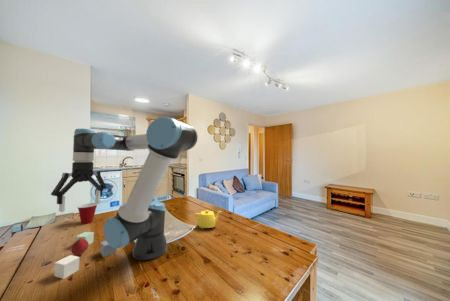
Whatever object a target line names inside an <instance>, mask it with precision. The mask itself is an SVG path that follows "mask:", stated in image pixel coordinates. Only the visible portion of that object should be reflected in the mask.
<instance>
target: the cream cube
mask: <svg viewBox="0 0 450 301" xmlns="http://www.w3.org/2000/svg"><path fill="white" fill-rule="evenodd" d="M80 258H81V257H80V256H78V255H74V254H73V255H72V254H70V255H67V256H65V257H63V258H61V259H59V260H57V261H55V262H54V268H53V269H54V270H53V276H54V277H56V278H60V279H62V280H63V279H66V278H68V277H69V276H71V275H72V274H74V273H76V272H77V271H79V270H80Z"/></svg>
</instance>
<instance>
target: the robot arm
mask: <svg viewBox="0 0 450 301" xmlns="http://www.w3.org/2000/svg"><path fill="white" fill-rule="evenodd" d="M198 136H199V135H198V132H197V130H196V129H195V128H194V127H193V126H192V125H190V124H189V123H186V122H183V121H181V120H178V119H176V118H173V117H170V116H169V117H168V116H161V117H157V118H155V119H154V120H152V121H151V123H149V125H148V126H147V129H146V132H145V133H141V134H132V135H118V134H112V133H111V132H105V131H99V132H96V131H95V130H94V129H91V128H81V127H80V128H76V129H75V130H74V134H73V143H72V144H73V147H72V151H73V152H72V161H73V162H72V167H71V173H70V172H63V173H62V175H61V178H60V180H59V181H58V183H57V184H56V186H55V187H54V189H53V190H52V191H51V193H50V195H51V196H53V197H56V204H57V205H59V209H58V211H59V212H61V213H64V212H65V209H66V205H65V204H66V196H65V195H66V193H67V192H68V191H69V190H70V189H71V188H72V187H73V186H74V185H75V184H77V183H82V182H89V183H90V184H91V185H92V186H93V187H94V188H96V190H95V200H94V201H95V202H94V203H95V204H97V205H99V204H101V197H103V191H104V189H107V185H106V183H105V181H104V179H103V178H102V175H101V171H100V170H95V171H94V161H95V150H110V151H112V150H113V151H124V152H125V151H127V152H129V151H132V152H133V151H135V150H138V151H139V150H148V152H149V153H148V155H147V157H146V159H145V161H144V164H143V165H142V168H141V169H140V172H139V174H138V176H137V179H136V181H135V183H134V185H133V187H132V189H131V192H130V193H129V196H128V198H127V200H126V202H125V203H124V204H121V205H120V206H119V207H118V209H117V212H116V214H115V216H112V217H110V218H108V219H107V220H106V221H105V222H104V223H103V228H102V229H103V232H102V233H103V235H104V239H105V241H107V242H108V244H109V245H110V246H112V247H114V248H116V249H121V248H122V247H125V246H128V245H129V244H131V243H133V242H134V241H135V244H134V246H133V248H132V257H133V259H135V260H138V261H151V260H155V259H157V258H159V257H161V256H163V255H164V254H165V253H166V252H167V250H168V242H167V243H166V241H167V237H166V235H165V220H166V219H165V217H166V204H165V203H164V202H162V201H153V200H154V198H155V195H156V193H157V191H158V190H159V188H160V185H161V184H162V181H163V180H164V177H165V176H166V173H167V171H168V169H169V167H170V165H171V162H172V161H175V160H176V159H178V157H179V155H180V153H181V151H189V150H191V149H193V148H194V147H195V146H196V144H197V143H198ZM93 176H95V178H96V180H97V181H96V180H95V179H94V178H93ZM70 177H71V179H70V180H69V178H70ZM68 180H69V181H68ZM67 181H68V183H67ZM66 183H67V184H66Z"/></svg>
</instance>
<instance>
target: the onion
mask: <svg viewBox="0 0 450 301" xmlns="http://www.w3.org/2000/svg"><path fill="white" fill-rule="evenodd" d="M89 245H90V244H88V241H87V240H85V239H83V237H80V238H79V239H78V240H77V241H76V242H74V243H73V244H72V245H71V250H70V251H71V253H72V254H73V256H81V255H82V254H84V253H86V251H87V250H88V248H89Z"/></svg>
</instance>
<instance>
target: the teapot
mask: <svg viewBox="0 0 450 301" xmlns="http://www.w3.org/2000/svg"><path fill="white" fill-rule="evenodd" d="M221 212H222V210H220V211H218V212H217V213H216V215H215V214H214V211H213V210H209V209H205V210H201V211H200V212H199V213H198V212H196V213H194V218H195V219H196V221H197V225H198V227H199V228H200V229H201V228H204V229H209V228H212V229H213V228H214V227H215V225H216V223H217V222H218V221H219V218H220V217H219V216H220V213H221ZM198 216H199V217H198Z"/></svg>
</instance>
